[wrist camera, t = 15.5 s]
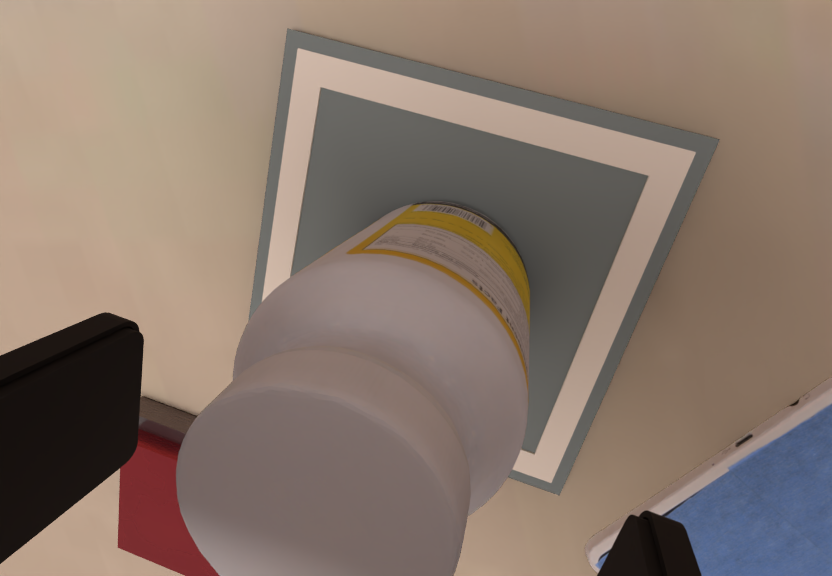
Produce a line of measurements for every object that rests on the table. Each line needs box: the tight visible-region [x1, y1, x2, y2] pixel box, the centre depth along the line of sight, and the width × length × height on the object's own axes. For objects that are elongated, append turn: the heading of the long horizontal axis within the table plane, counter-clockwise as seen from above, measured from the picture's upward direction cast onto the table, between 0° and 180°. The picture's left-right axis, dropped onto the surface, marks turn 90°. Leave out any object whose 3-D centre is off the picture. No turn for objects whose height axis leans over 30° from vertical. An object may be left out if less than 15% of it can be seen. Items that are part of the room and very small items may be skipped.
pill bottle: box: [176, 201, 530, 576], centre depth 13 cm, size 6×6×12 cm
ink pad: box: [118, 396, 220, 576], centre depth 24 cm, size 10×8×2 cm
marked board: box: [248, 29, 719, 495], centre depth 19 cm, size 14×14×1 cm
